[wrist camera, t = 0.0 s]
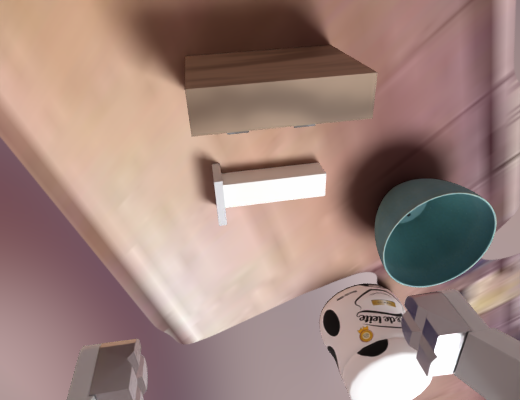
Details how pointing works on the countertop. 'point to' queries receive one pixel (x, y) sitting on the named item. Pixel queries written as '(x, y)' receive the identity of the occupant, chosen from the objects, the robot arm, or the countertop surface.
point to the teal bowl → (432, 231)
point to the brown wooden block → (276, 89)
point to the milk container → (371, 344)
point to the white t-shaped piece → (266, 185)
